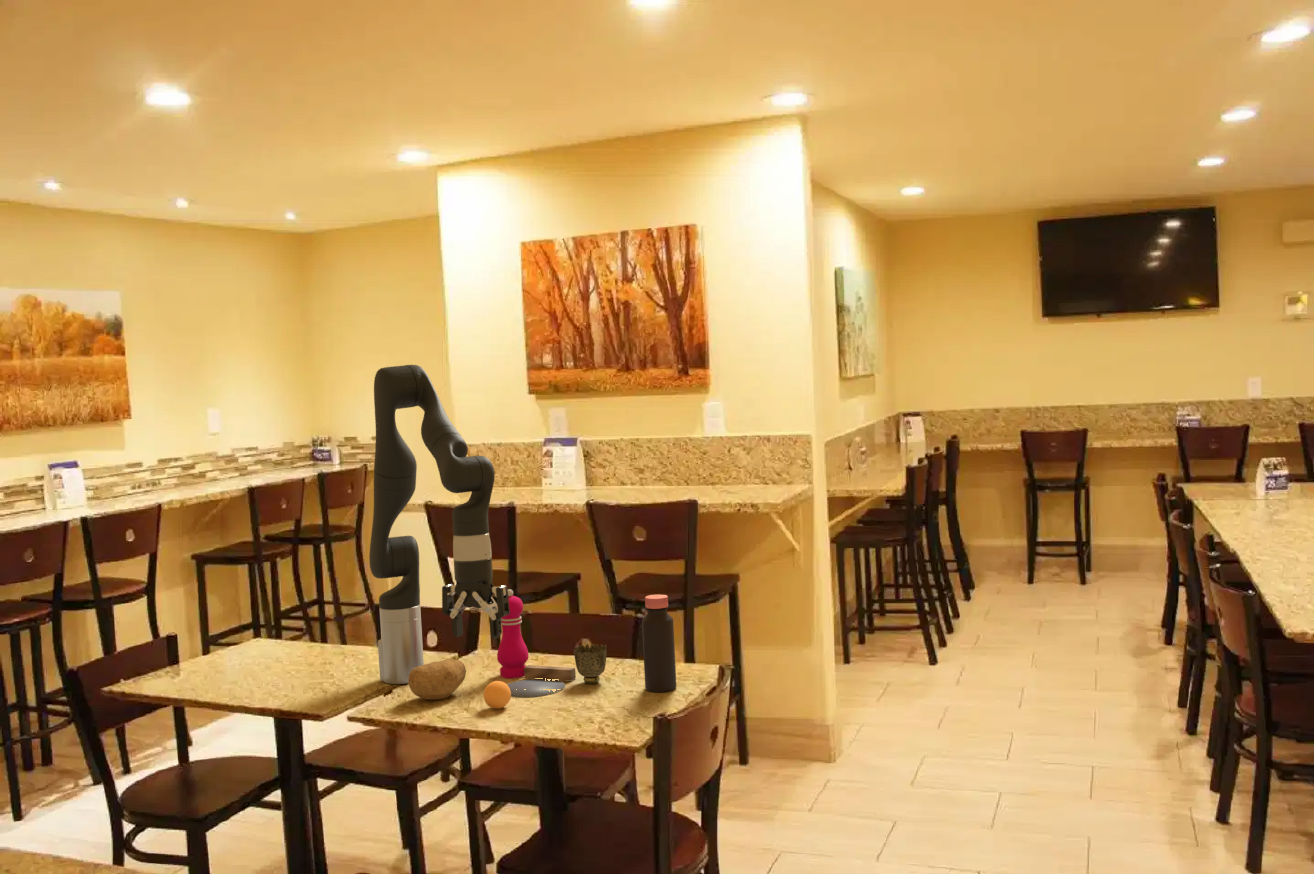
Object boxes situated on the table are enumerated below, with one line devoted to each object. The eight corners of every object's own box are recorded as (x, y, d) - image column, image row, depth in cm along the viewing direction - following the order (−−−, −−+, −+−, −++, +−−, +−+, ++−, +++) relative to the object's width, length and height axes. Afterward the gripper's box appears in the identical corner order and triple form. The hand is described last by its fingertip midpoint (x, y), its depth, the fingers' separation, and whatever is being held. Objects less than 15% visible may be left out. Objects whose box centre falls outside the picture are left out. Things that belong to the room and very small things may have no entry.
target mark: (489, 695, 234) (488, 694, 234) (520, 677, 247) (520, 677, 247) (546, 699, 229) (546, 698, 229) (575, 681, 242) (575, 680, 242)
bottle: (648, 683, 237) (644, 593, 236) (679, 684, 235) (674, 593, 234) (642, 692, 230) (637, 599, 229) (673, 693, 229) (668, 599, 228)
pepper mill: (535, 672, 251) (531, 587, 250) (515, 680, 245) (511, 593, 244) (512, 669, 255) (507, 585, 254) (491, 677, 249) (486, 591, 248)
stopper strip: (524, 678, 247) (524, 667, 247) (529, 675, 248) (528, 665, 248) (571, 681, 242) (571, 670, 242) (575, 678, 244) (575, 667, 244)
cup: (603, 687, 236) (601, 651, 235) (571, 687, 237) (569, 651, 237) (612, 678, 243) (610, 642, 243) (580, 677, 245) (578, 643, 244)
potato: (479, 692, 236) (477, 656, 236) (427, 709, 226) (425, 671, 225) (450, 686, 243) (448, 651, 242) (399, 702, 232) (396, 665, 232)
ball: (479, 711, 223) (477, 684, 222) (493, 703, 228) (491, 677, 227) (502, 713, 220) (501, 685, 220) (516, 705, 226) (515, 678, 225)
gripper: (431, 559, 214) (436, 640, 215) (493, 559, 209) (498, 642, 210) (452, 553, 221) (457, 631, 222) (513, 553, 216) (517, 634, 217)
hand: (477, 637), depth 216 cm, fingers open, 8 cm apart
